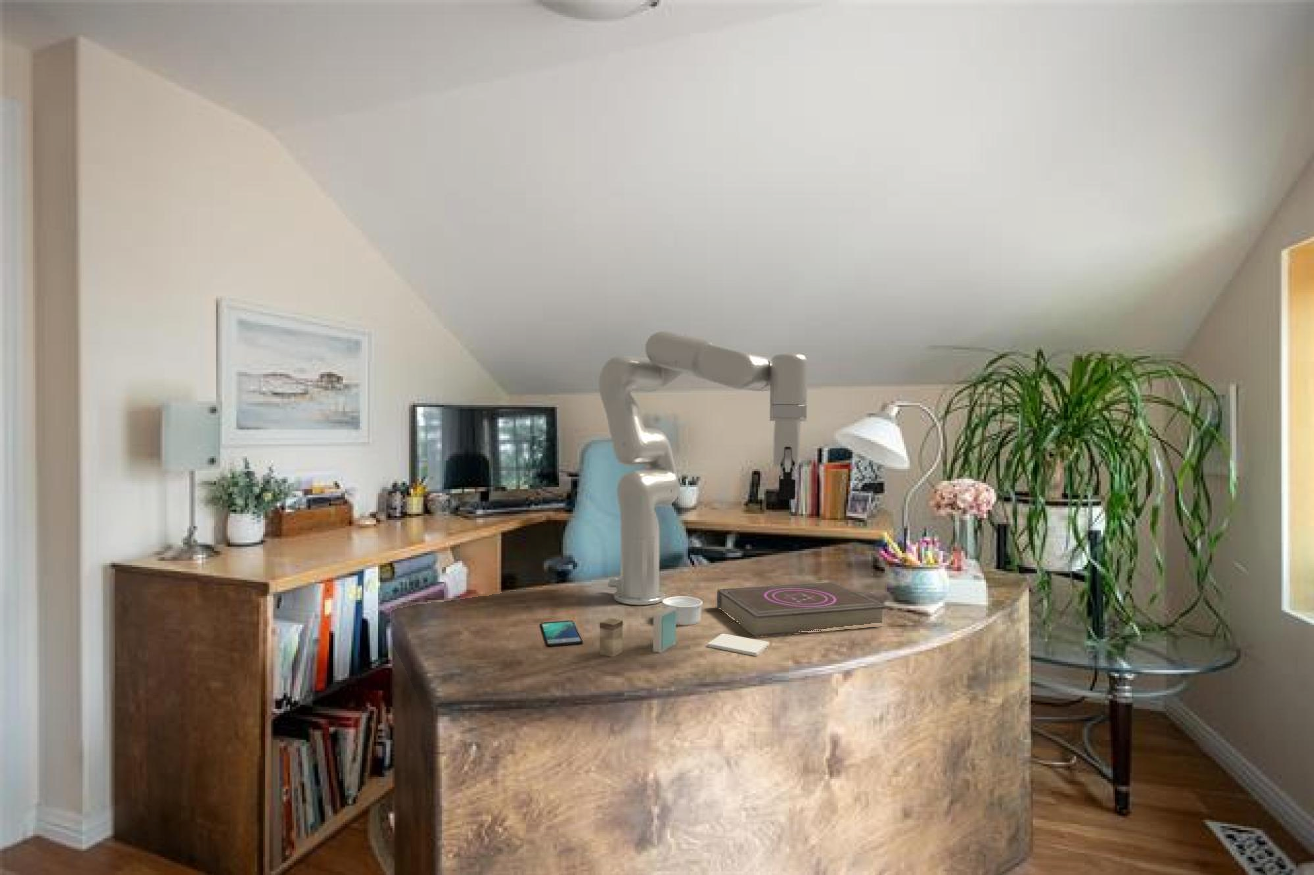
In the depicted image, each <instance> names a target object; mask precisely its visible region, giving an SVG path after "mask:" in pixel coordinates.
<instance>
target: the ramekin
mask: <svg viewBox="0 0 1314 875" xmlns="http://www.w3.org/2000/svg"><path fill="white" fill-rule="evenodd" d="M661 604H662V606H663V607H662V608H663V609H665V608H667V607H674V608H676V626H692V625H696V624H698V623H700V621H701V618H702V617H701V616H702V608H703V607H702V606H703V604H704V602H703V600H701V599H699V598H698V597H697V598H696V597H693V596H684V595H683V596H682V595H680V596H671V597H670V596H669V597H665V599H664V600H663V601H661ZM663 609H662V610H663Z"/></svg>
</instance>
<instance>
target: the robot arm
mask: <svg viewBox="0 0 1314 875" xmlns="http://www.w3.org/2000/svg"><path fill="white" fill-rule="evenodd" d="M645 354H646V356H647V357H641V356H637V355H636V356H635V355H626V354H625V355H616V356H612V358H609V359H608V360H607V361H606V362H605V363H604V365H603V366H602V368H601V371H600V374H599V378H598V390H599V392H598V393H599V396H600V399H601V401H602V402H601V403H602V405H603V408H604V410H605V415H606V418H607V423H608V428H609V429H608V430H609V433H610V438H611V442H612V447H613V452H614V455H615V459H616V460H617V461H618V462H619V463H620V464H621V465H623V466H627V467H628V466H629V467H636V466H637V467H638V466H641V467H642V466H643V468H644V469H639V470H632V471H630V472H629V471H628V472H627V473H626V474H624V475H623V476H621V478H620V479H619V481H618V482H617V483H618V484H617V487H616V495H617V496H616V497H617V502H618V507H619V514H620V515H619V516H620V578H618V577H612V576H611V577H610V578H609V581H608V584H607V586H608V587H611V588H615V589H616V591H615V592H614V594H613V599H614V600H615V601H616V602H618V603H620V604H624V605H625V604H627V605H633V606H644V605H645V606H646V605H654V604H659V603H660V602H661V603H662V601H663V600H664V599H665V598H666V593H665V592H664V591H663V590H660V523H659V519H658V515H657V514H656V511H655V508H658V507H664V506H668V505H671V504H672V503H673V502H675V500H676V499H677V497H678V496H679V493H680V480H679V477H678V472H677V467H676V463H675V459H674V454H673V450H672V446H671V444H670V441H669V439H668V437H667V436H666V435H665V433H664V432H662V431H661V430H659V429H656V428H655V427H654V428H653V427H645V425H644V422H643V418H642V414H641V413H642V412H641V410H640V407H639V406H640V405H638V403H637V401H636V400H635V398H634V397H633V396H632V393H631V391H637V392H647V393H648V392H649V393H650V392H657V391H659V390H661V389H663V388H664V387H666V386H667V385H669V384H670V383H671V382H673V381H675V380H676V379H679V377H680V376H682V375H683V374H685V375H689V376H691V377H696V378H699V379H702V380H705V381H708V382H711V383H714V384H715V383H716V384H718V385H722V386H725V387H730V388H733V389H737V390H744V391H745V390H746V391H747V390H748V391H753V392H754V391H755V392H767V391H768V392H769V421H770V422H774V426H773V427H774V428H773V457H772V458H773V459H772V460H773V465H772V467H773V468H774V469H775V470H776V469H777V468H778V467H780V468H779V470H780V471H779V472H780V475H779V476H778V499H779V500H792V501H793V500H795V499H796V479H795V470H797V468H798V466H799V458H800V450H801V449H800V448H801V447H800V446H801V422H807V421H808V420H807V414H808V413H807V412H808V410H807V409H808V406H807V405H808V360H807V357H806V356H805V355H803V354H801V353H800V354H799V353H779V354H777V355H776V354H775V355H774V356H773V357H767V356H763V355H758V354H753V353H747V352H741V351H737V350H732V349H728V348H724V347H721V346H716V345H714V344H713V343H712V342H711V341H709V340H705V339H700V338H697V337H692V336H688V335H686V334H685V335H684V334H681V333H676V332H671V331H665V330H664V331H657V332H655V333H653V334H652V335H651V336H649V338H648V339H647V341H646V343H645Z"/></svg>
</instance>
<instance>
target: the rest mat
mask: <svg viewBox="0 0 1314 875" xmlns="http://www.w3.org/2000/svg"><path fill="white" fill-rule="evenodd" d="M767 646H768V647H769V646H770V641H767V640H761V639H757V638H756V639H755V638H749V637H744V636H739V635H734V634H733V635H732V634H727V633H721V634H719V635H718V636H717V637H714V639H712V640H710V641H709V642H708V643H707V647H708V648H713V649H718V650H724V651H729V652H734V653H738V654H744V655H749V656H754V657H757V656H759V655H760V654H761V653H762V652H764V651H765V650H766V649H767V648H768V647H767ZM765 648H766V649H765Z"/></svg>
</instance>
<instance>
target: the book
mask: <svg viewBox="0 0 1314 875" xmlns="http://www.w3.org/2000/svg"><path fill="white" fill-rule="evenodd" d="M716 607H717V609H718V608H721V609H720V610H724V611H723V612H726V613H728V615H730V616H731V617H733V618H734V619H735V621H738V622H737V623H740V625H741V626H742V627H744V628H743V629H744V630H745V629H746V630H747V631H746V630H745V631H746V632H748V631H749V632H748V633H749V634H750V633H751V634H750V635H751V636H753V635H754V636H755V637H761V636H772V637H776V636H775V635H784V636H790V635H789V634H795V633H807V634H809V633H808V632H801V631H811V630H812V631H813V630H814V629H827V628H833V627H844V626H853V625H864V624H871V623H883V610H888V609H889V608H888V605H887V604H884V603H882V602H879V601H878V600H876V599H873V598H870V597H868V596H866V595H864V594H862V593H859V592H856V591H854V590H852V589H850V588H848V587H847V586H842V585H841V584H838V583H836V582H834V581H833V582H829V581H828V582H813V583H797V584H779V585H766V586H765V585H764V586H749V587H748V586H747V587H746V586H745V587H734V588H732V587H731V588H718V589H717V592H716ZM720 610H719V611H720ZM723 612H722V613H723ZM735 621H734V622H735ZM737 623H736V624H737ZM740 625H739V626H740ZM741 626H740V627H741ZM742 627H741V628H742ZM799 631H800V632H799ZM814 631H815V630H814ZM816 631H817V630H816ZM818 631H819V630H818ZM820 631H821V630H820ZM754 636H753V637H754ZM755 637H754V638H755ZM761 638H762V637H761Z"/></svg>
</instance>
